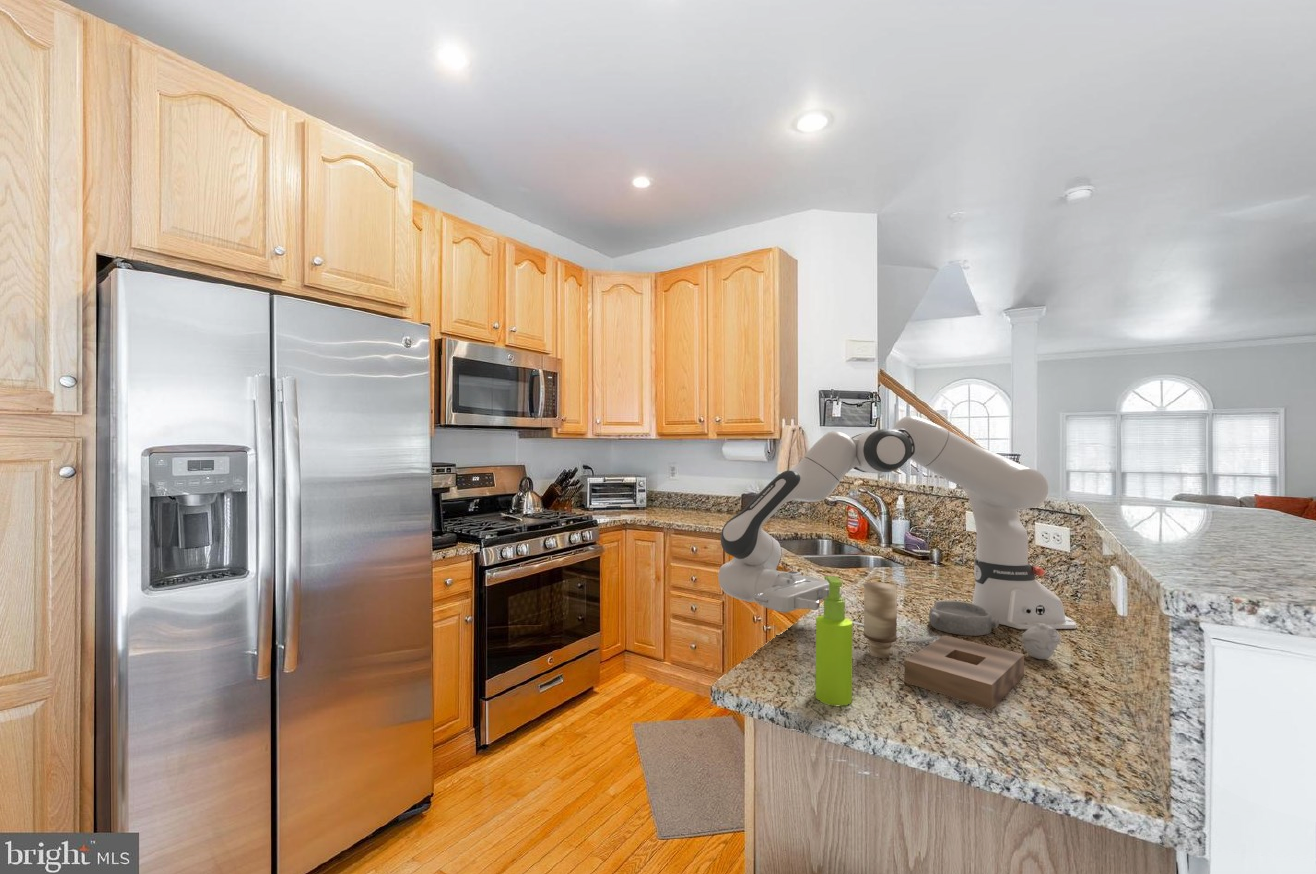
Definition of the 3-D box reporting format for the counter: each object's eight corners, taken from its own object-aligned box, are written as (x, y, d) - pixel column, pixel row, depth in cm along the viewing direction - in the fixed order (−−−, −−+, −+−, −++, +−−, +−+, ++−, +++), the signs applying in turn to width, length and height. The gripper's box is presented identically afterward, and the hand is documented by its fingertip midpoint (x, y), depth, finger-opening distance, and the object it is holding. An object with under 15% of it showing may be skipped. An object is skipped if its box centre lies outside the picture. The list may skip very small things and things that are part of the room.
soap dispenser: (845, 688, 97) (846, 574, 97) (855, 707, 90) (856, 584, 90) (811, 686, 97) (812, 573, 98) (818, 705, 90) (820, 582, 91)
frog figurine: (1068, 664, 110) (1068, 629, 110) (1034, 664, 109) (1034, 629, 109) (1045, 652, 116) (1045, 619, 116) (1013, 653, 115) (1013, 619, 115)
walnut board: (944, 654, 114) (944, 635, 114) (1024, 675, 104) (1024, 654, 104) (904, 682, 100) (904, 660, 100) (991, 709, 90) (991, 685, 90)
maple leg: (891, 649, 116) (891, 583, 116) (900, 661, 110) (901, 590, 110) (860, 648, 117) (860, 581, 117) (868, 659, 110) (868, 589, 111)
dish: (932, 634, 127) (932, 612, 127) (922, 617, 140) (922, 597, 140) (1004, 642, 122) (1004, 619, 122) (986, 623, 136) (986, 602, 136)
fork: (839, 617, 139) (839, 610, 139) (935, 646, 120) (935, 638, 120) (831, 619, 137) (831, 612, 137) (927, 649, 118) (927, 641, 118)
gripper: (750, 583, 125) (803, 595, 115) (799, 570, 139) (851, 580, 129) (749, 611, 125) (803, 626, 115) (799, 595, 139) (850, 607, 129)
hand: (829, 601), depth 122 cm, fingers open, 8 cm apart
